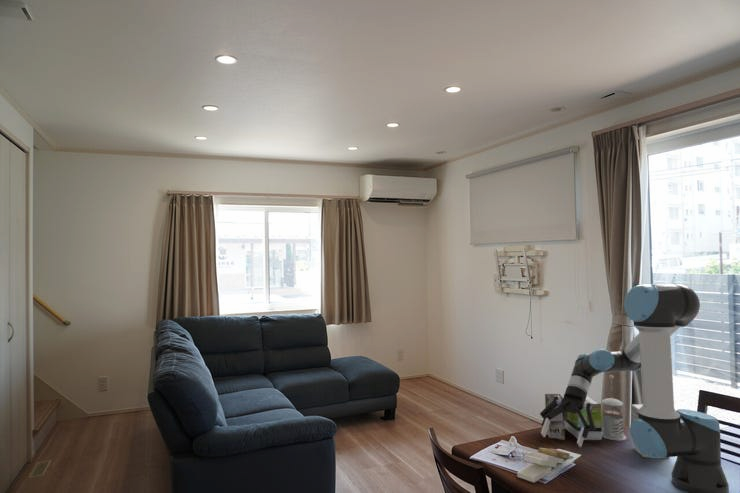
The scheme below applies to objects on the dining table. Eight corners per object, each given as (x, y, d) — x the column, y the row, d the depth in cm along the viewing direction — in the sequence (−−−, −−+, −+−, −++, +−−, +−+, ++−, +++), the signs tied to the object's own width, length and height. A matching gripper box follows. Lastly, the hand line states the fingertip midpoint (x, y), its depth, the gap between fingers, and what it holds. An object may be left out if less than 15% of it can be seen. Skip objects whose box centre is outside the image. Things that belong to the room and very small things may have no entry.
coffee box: (565, 440, 195) (564, 399, 195) (548, 439, 196) (548, 399, 196) (561, 432, 203) (560, 393, 204) (545, 431, 205) (544, 393, 205)
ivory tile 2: (540, 457, 172) (524, 454, 164) (556, 462, 168) (541, 459, 160) (539, 462, 172) (524, 459, 164) (556, 467, 167) (540, 464, 160)
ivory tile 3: (534, 461, 169) (517, 472, 161) (551, 466, 165) (534, 477, 156) (534, 466, 169) (517, 476, 161) (551, 471, 165) (534, 482, 156)
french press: (594, 434, 201) (592, 373, 202) (613, 429, 206) (612, 370, 206) (615, 442, 192) (613, 378, 193) (634, 437, 197) (633, 375, 198)
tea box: (602, 440, 194) (601, 403, 194) (577, 440, 194) (576, 403, 195) (586, 427, 209) (586, 393, 209) (563, 427, 209) (562, 393, 210)
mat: (558, 450, 184) (558, 448, 184) (581, 456, 178) (581, 454, 178) (525, 470, 167) (525, 468, 167) (550, 478, 161) (549, 476, 161)
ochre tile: (553, 448, 180) (538, 447, 172) (569, 453, 176) (554, 452, 168) (553, 453, 180) (538, 452, 172) (569, 458, 175) (554, 457, 168)
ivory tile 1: (547, 454, 175) (532, 451, 168) (563, 458, 171) (548, 455, 164) (546, 458, 175) (531, 455, 167) (562, 463, 171) (547, 460, 163)
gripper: (613, 402, 180) (598, 454, 169) (549, 390, 198) (532, 436, 187) (607, 391, 176) (592, 443, 166) (543, 379, 194) (525, 426, 184)
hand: (560, 440), depth 176 cm, fingers open, 13 cm apart
